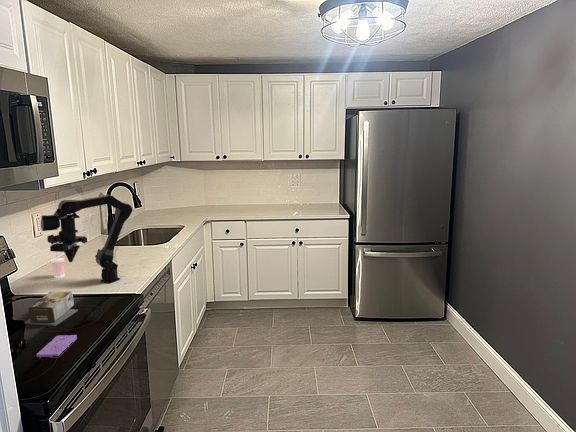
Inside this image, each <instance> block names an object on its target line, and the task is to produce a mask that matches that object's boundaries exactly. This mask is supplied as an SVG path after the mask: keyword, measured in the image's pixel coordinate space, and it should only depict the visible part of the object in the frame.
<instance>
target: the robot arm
mask: <svg viewBox="0 0 576 432" xmlns="http://www.w3.org/2000/svg"><path fill="white" fill-rule="evenodd" d="M103 205H110V206H111V207H113V208H114V209H115V211H114V221H113V223H112V226H111V228H110V229H109V233H108V236H107V239H106V241H105V243H104V246H103V247H101V249H99V248H98V249H97V252H96V255H95V256H94V257H95V262H96V264H97V265H99V266H100V267H101V268H102V269H101V274H100V275H101V280H100V282H102V283H107V284H111V283H114V282H117V281H119V280H121V278H120V277H119V275H118V267H119V265H118V264H117V263H116V262H114V251H115V250H114V249H115V247H116V245H117V242H118V240H119V237H120V235H121V232H122V228H123V227H124V224H125V223H126V221H127V220H128V219H129V218H130V216H131V214H132V213H133V207H132V206H131V205H130V204H129V203H126V202H122V201H121V200H119V199H117V198H115V196H114V195H110V194H106V195H101V196H100V195H99V196H95V197H91V198H90V197H89V198H84V199H63V200H61V201H60V202H59V203H58V205H57V206H58V207H57V209H56V210H55V212H54V213H53V214H51V215H50V214H49V215H46V214H44V215H41V218H40V229H41V232H48V231H56V230H58V229H59V228H60V230H59V231H58V234H57V235H54V234H51V235H47V242H48V243H49V244H50V246H49V250H50V252H53V253H54V252H55V253H56V252H57V253H59V252H60V253H62V252H63V253H64V255H65V256H66V258H67V261H68V262H69V263H72V262H74V259H75V257H76V255H77V252H78V251H79V249H80V247H81V245H78V243H82V244H86V243H88V238H87V237H86V236H84V235H77V233H78V229H76V219H79V218H80V216H79V215H78V214H77V213H78V212H79V211H81V210H84V209H89V208H95V207H99V206H103Z"/></svg>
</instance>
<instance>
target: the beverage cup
mask: <svg viewBox="0 0 576 432" xmlns="http://www.w3.org/2000/svg"><path fill="white" fill-rule="evenodd" d="M50 263H51V268H52V273H53V277H54V279H60V278H64V277H65V275H66V274H65V273H66V272H65V258H64V257H59V256H58V252H55V257H54V258H51V259H50Z"/></svg>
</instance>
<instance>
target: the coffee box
mask: <svg viewBox="0 0 576 432" xmlns="http://www.w3.org/2000/svg"><path fill="white" fill-rule="evenodd" d="M73 306H75V303H74V296H73V291H71V290H70V291H69V290H68V291H67V290H65V291H64V290H62V291H55V290H54V291H49V292H48V293H46V294H45V295H43V296H42V297H41V298H40V299H38V300H37V301H36V302H34V303H33V304H32V305H30V306H29V307H28V314H29V319H31V323H51V322H55V321H56V320H57V319H59V318H60V317H61V316H62V315H63V314H64V313H65V312H66V311H68V310H69V309H72V307H73Z"/></svg>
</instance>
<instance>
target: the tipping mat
mask: <svg viewBox="0 0 576 432" xmlns="http://www.w3.org/2000/svg"><path fill="white" fill-rule="evenodd" d="M77 312H78V309H73V308H70V309H69V310H68V311H66V312H65V313H64V314H63V315H62V316H61V317H60V318H59V319H57V320H56V321H55V322H51V323H31V319H30V318H29V319H28V320H26V321H24V324H26V325H37V326H39V325H40V326H53V327H54V326H55V327H56V326H57V325H59V324H61V323H62V322H64V321H65V320H67V319H68V318H70V317H72V315H74V314H76V313H77Z"/></svg>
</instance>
